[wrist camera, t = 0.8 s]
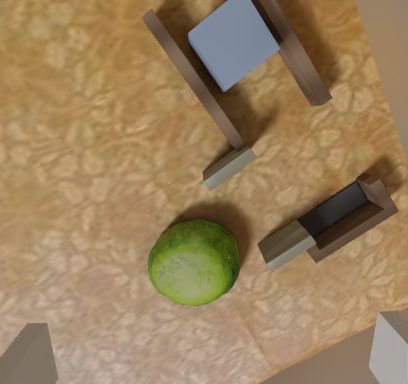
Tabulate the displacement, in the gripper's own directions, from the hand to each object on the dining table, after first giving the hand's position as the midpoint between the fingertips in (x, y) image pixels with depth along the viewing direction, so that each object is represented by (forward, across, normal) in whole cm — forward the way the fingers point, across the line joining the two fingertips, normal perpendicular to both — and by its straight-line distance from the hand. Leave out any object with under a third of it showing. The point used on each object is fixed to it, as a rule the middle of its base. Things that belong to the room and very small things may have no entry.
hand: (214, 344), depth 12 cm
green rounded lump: (+24, -1, -9) cm, 26 cm away
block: (+24, +3, +15) cm, 29 cm away
